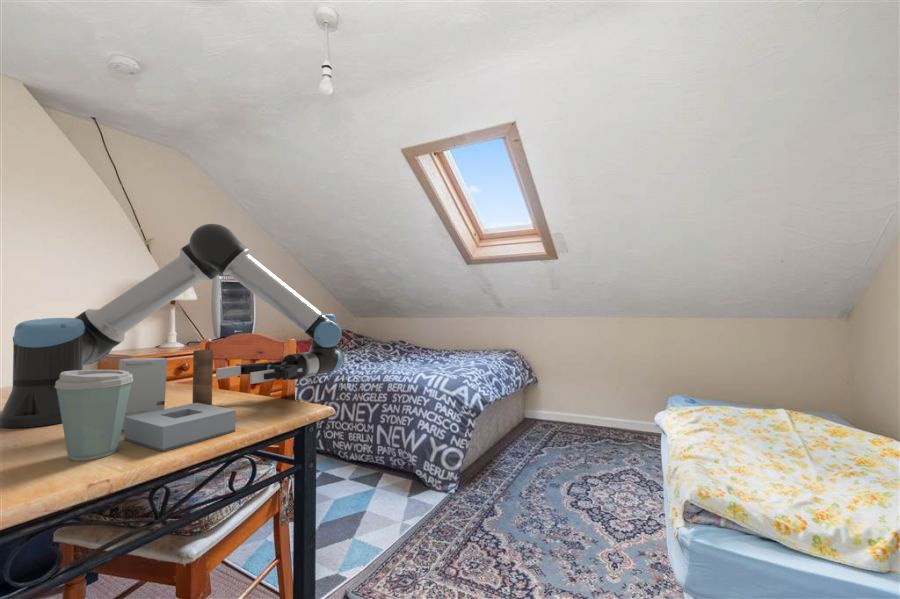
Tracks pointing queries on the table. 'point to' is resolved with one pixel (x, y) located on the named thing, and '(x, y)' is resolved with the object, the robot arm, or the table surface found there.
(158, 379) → the skincare box
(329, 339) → the robot arm
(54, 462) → the table surface
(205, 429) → the bore block
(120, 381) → the disposable coffee cup
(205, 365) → the walnut dowel
